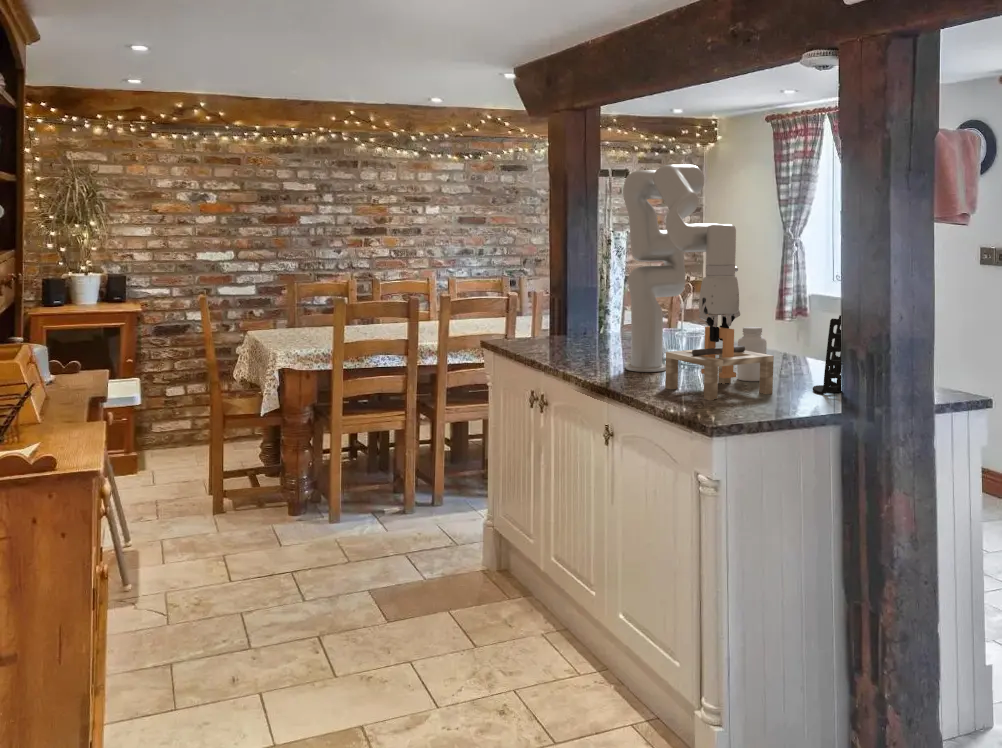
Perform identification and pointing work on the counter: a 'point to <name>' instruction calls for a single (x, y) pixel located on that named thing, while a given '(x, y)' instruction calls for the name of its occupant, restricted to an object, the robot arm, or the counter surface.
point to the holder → (832, 361)
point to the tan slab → (727, 349)
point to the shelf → (713, 364)
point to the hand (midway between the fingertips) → (719, 340)
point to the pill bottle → (754, 344)
